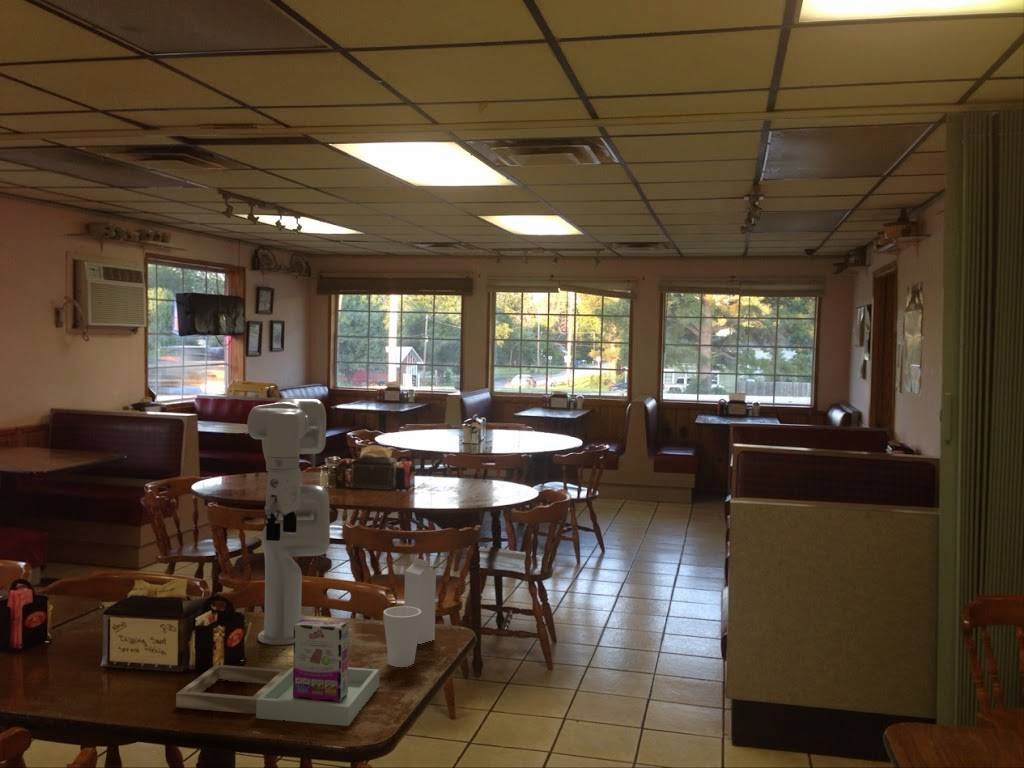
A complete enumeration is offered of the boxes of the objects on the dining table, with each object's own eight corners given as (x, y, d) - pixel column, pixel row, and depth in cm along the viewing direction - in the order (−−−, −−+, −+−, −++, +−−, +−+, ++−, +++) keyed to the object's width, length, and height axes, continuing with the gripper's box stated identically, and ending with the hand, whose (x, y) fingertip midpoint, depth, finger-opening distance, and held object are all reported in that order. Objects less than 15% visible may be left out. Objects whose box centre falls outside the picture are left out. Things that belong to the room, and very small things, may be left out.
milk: (418, 645, 233) (419, 563, 232) (403, 640, 237) (404, 559, 236) (435, 640, 237) (436, 559, 236) (420, 635, 241) (421, 555, 241)
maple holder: (215, 677, 207) (215, 664, 207) (288, 683, 204) (289, 670, 204) (176, 707, 189) (176, 693, 189) (255, 714, 187) (255, 699, 187)
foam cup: (405, 654, 226) (406, 604, 225) (428, 664, 219) (429, 612, 219) (374, 662, 219) (375, 611, 219) (397, 673, 213) (398, 619, 212)
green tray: (296, 680, 206) (296, 663, 206) (378, 686, 204) (379, 669, 203) (256, 718, 185) (256, 699, 184) (348, 726, 182) (348, 706, 182)
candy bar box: (348, 694, 196) (349, 621, 195) (340, 703, 191) (341, 628, 190) (301, 690, 198) (302, 617, 197) (291, 698, 193) (293, 624, 192)
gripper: (283, 469, 198) (282, 544, 199) (311, 460, 215) (310, 529, 216) (251, 467, 199) (250, 542, 200) (282, 459, 216) (281, 528, 217)
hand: (281, 536), depth 208 cm, fingers open, 9 cm apart
